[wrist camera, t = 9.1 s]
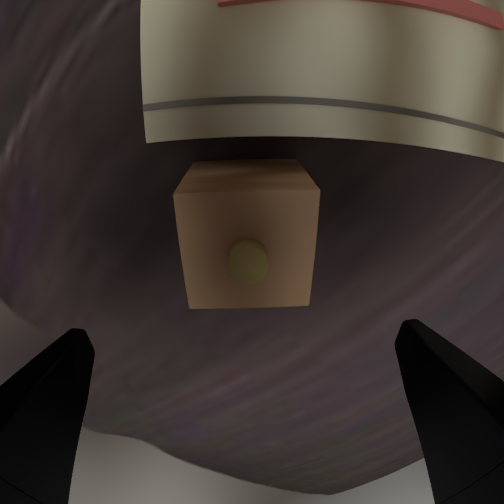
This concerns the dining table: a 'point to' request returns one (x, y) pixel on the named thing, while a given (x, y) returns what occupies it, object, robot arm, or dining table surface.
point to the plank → (322, 73)
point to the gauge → (247, 233)
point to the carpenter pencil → (432, 9)
